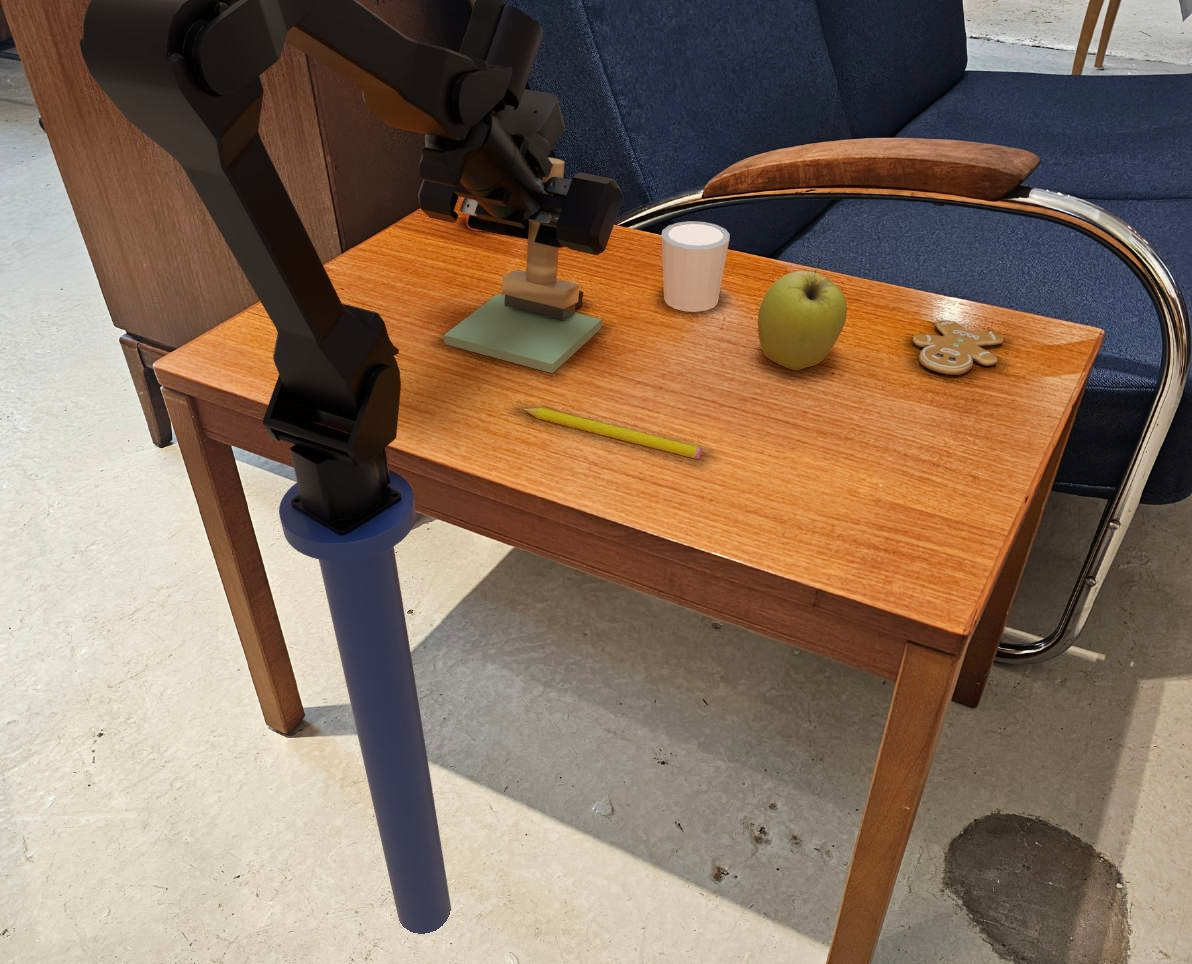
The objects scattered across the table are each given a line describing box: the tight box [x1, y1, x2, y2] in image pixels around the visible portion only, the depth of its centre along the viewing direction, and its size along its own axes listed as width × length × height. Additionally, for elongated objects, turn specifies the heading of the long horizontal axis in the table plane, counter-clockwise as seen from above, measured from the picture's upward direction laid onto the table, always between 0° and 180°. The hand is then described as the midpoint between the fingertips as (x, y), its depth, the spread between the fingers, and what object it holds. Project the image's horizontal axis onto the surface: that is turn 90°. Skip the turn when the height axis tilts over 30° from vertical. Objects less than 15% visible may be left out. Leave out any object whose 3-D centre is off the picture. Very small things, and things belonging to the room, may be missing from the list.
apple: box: [757, 260, 848, 371], centre depth 97 cm, size 8×8×10 cm
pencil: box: [524, 407, 703, 460], centre depth 90 cm, size 16×1×1 cm, turn 66°
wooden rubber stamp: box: [501, 157, 580, 320], centre depth 101 cm, size 3×7×14 cm, turn 63°
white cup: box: [660, 220, 731, 313], centre depth 107 cm, size 7×7×7 cm
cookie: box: [912, 319, 1005, 376], centre depth 101 cm, size 8×1×10 cm
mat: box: [443, 293, 603, 374], centre depth 103 cm, size 10×12×1 cm
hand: (551, 238), depth 102 cm, fingers closed on wooden rubber stamp, 3 cm apart
